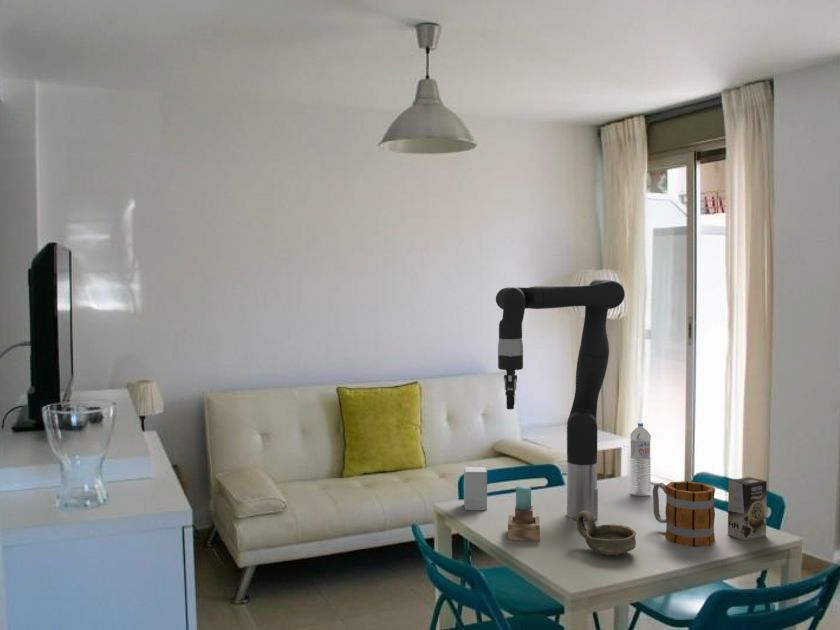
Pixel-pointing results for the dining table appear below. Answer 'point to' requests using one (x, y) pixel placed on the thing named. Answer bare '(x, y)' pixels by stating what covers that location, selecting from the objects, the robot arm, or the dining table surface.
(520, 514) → the walnut block
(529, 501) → the teal cylinder
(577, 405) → the robot arm
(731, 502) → the coffee box
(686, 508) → the mug
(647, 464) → the water bottle
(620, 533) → the bowl
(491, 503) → the dining table surface
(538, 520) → the oak base
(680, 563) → the dining table surface
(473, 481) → the supplement box
